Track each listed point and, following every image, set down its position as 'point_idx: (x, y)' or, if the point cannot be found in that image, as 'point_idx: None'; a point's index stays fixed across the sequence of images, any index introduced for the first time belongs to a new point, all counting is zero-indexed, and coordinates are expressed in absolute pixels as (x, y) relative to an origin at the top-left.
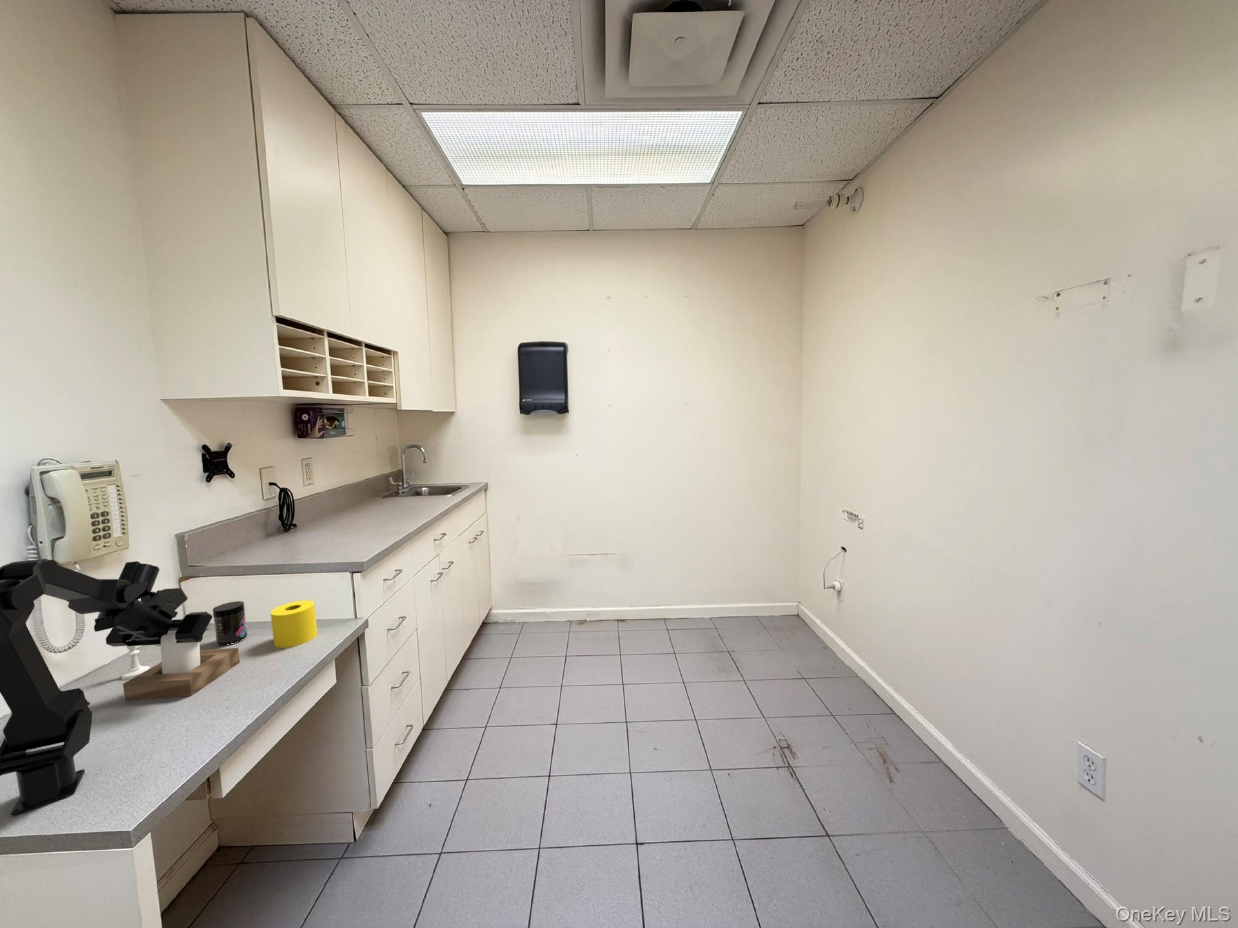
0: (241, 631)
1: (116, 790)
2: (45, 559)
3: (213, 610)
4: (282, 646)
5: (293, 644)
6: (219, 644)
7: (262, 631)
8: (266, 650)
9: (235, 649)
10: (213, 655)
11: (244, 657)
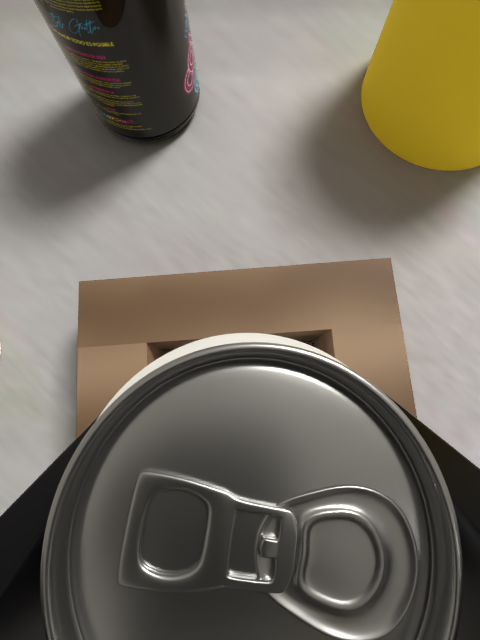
0: (193, 65)
1: None
2: None
3: None
4: (453, 166)
5: None
6: (130, 139)
7: (219, 33)
8: (392, 189)
9: (393, 276)
10: (315, 331)
11: (342, 243)
